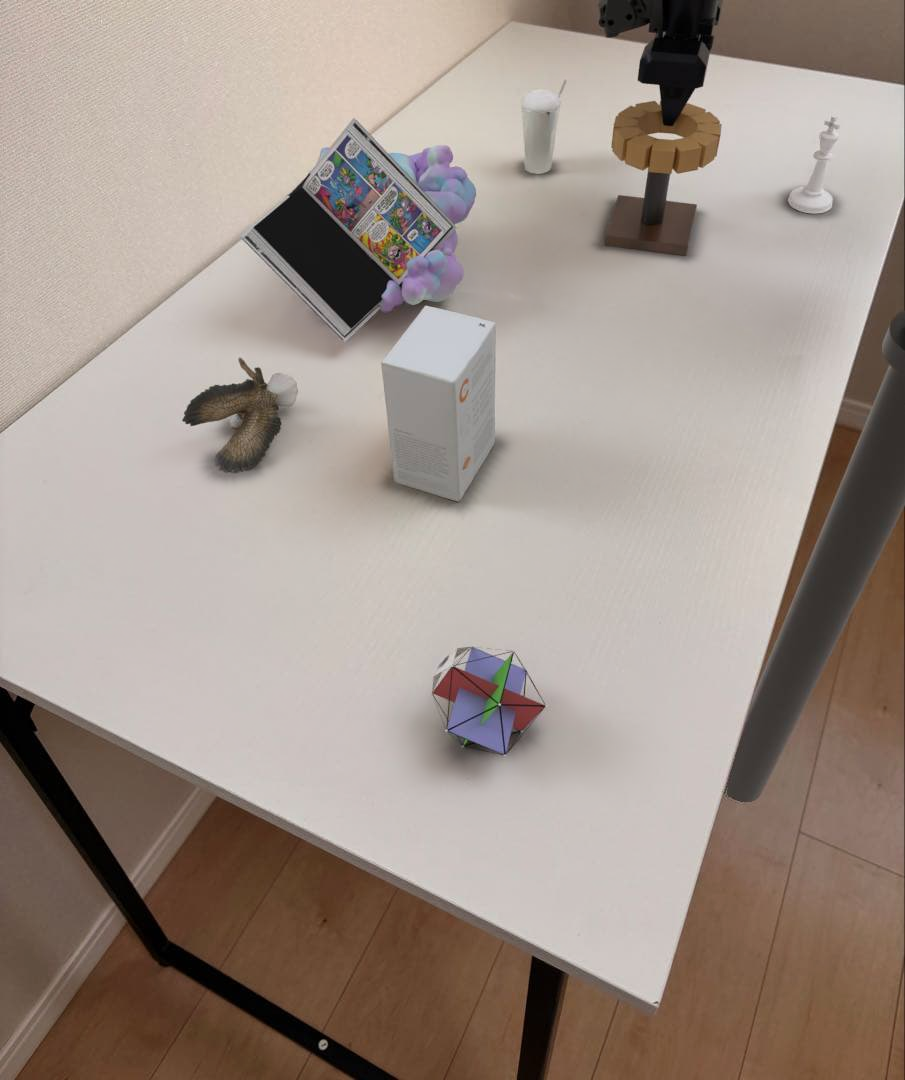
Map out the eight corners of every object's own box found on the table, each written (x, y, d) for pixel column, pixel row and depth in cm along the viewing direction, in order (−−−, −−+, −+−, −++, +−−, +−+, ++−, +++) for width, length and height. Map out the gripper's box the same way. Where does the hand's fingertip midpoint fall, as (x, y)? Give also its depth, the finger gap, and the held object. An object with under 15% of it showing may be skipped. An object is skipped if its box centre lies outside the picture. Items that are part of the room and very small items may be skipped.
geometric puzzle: (574, 681, 64) (507, 611, 60) (556, 770, 60) (483, 701, 56) (492, 697, 68) (424, 633, 65) (469, 781, 64) (395, 718, 60)
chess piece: (804, 187, 111) (828, 102, 103) (840, 203, 108) (867, 117, 101) (779, 202, 109) (801, 116, 101) (814, 218, 106) (840, 131, 99)
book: (472, 177, 105) (379, 41, 92) (533, 275, 90) (432, 129, 78) (331, 287, 110) (225, 172, 97) (367, 396, 95) (247, 277, 83)
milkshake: (568, 171, 115) (574, 87, 107) (528, 180, 114) (532, 96, 106) (552, 154, 118) (557, 72, 110) (513, 163, 116) (515, 80, 109)
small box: (431, 424, 85) (425, 302, 75) (496, 443, 83) (498, 320, 73) (391, 483, 80) (378, 361, 70) (459, 504, 78) (456, 382, 69)
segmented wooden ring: (718, 127, 101) (723, 104, 99) (714, 178, 94) (719, 155, 92) (617, 119, 103) (620, 97, 101) (606, 168, 96) (608, 146, 94)
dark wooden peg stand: (695, 213, 108) (706, 153, 102) (686, 255, 102) (697, 193, 97) (617, 204, 109) (624, 144, 104) (604, 245, 104) (610, 183, 98)
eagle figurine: (222, 384, 87) (166, 432, 81) (253, 334, 83) (197, 380, 76) (286, 438, 88) (236, 489, 82) (321, 391, 84) (271, 441, 77)
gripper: (624, -82, 96) (609, 75, 108) (592, -17, 84) (578, 152, 96) (736, -75, 94) (707, 85, 105) (719, -8, 82) (689, 164, 94)
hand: (669, 119), depth 100 cm, fingers closed on segmented wooden ring, 2 cm apart
